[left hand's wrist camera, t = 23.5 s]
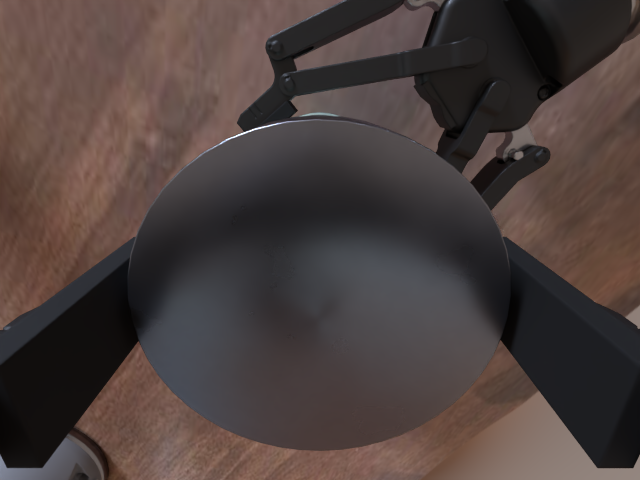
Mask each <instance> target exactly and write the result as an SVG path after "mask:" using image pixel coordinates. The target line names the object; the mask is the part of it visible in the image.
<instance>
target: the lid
mask: <svg viewBox="0 0 640 480" xmlns="http://www.w3.org/2000/svg"><path fill="white" fill-rule="evenodd" d="M510 297H511V272H510V266H509V260H508V254H507V249H506V246H505V243H504V240H503V237H502V234H501V231H500V228H499V226H498V224H497V222H496V220H495V218H494V216H493V214H492V212H491V211H490V209H489V207H488V205H487V204H486V202H485V201H484V200H483V198H482V197H481V196H480V194H479V193H478V192H477V190H476V189H475V188H474V186H473V185H472V184H471V183H470V182H469V181H468V180H467V179H466V178H465V177H464V176H463V175H462V174H461V173H460V172H459V171H458V170H457V169H456V168H455V167H454V166H453V165H451V164H450V163H448V162H447V161H446V160H444V159H443V158H442V157H440V156H439V155H437V154H436V153H435V152H433V151H432V150H430V149H429V148H427V147H425V146H423V145H421V144H419V143H417V142H415V141H413V140H411V139H409V138H407V137H406V136H403V135H401V134H398V133H396V132H394V131H391V130H389V129H386V128H383V127H380V126H377V125H375V124H372V123H369V122H366V121H361V120H356V119H351V118H346V117H340V116H323V115H314V116H301V117H291V118H287V119H282V120H278V121H273V122H269V123H266V124H264V125H261V126H258V127H256V128H253V129H250V130H248V131H245V132H243V133H240V134H238V135H236V136H233V137H231V138H228V139H227V140H225V141H223V142H221V143H219V144H218V145H216V146H214V147H212V148H210V149H209V150H207V151H205V152H203V153H202V154H201V155H199V156H198V157H197V158H195V159H194V160H193V161H191V162H190V163H189V164H188V165H186V166H185V167H184V168H182V169H181V170H180V171H179V172H178V173H177V174H176V175H175V176H174V177H173V178H172V179H171V181H170V182H169V183H168V184H167V185H166V186H165V187H164V188H163V189H162V190H161V192H160V193H159V195H158V196H157V198H156V199H155V200H154V202H153V203H152V205H151V206H150V208H149V209H148V211H147V213H146V215H145V217H144V219H143V221H142V223H141V225H140V227H139V229H138V232H137V235H136V238H135V241H134V245H133V248H132V251H131V256H130V263H129V270H128V302H129V307H130V313H131V319H132V322H133V326H134V329H135V332H136V335H137V338H138V341H139V343H140V345H141V347H142V349H143V351H144V353H145V355H146V357H147V359H148V360H149V362H150V363H151V365H152V366H153V368H154V369H155V371H156V372H157V374H158V375H159V377H160V378H161V379H162V380H163V381H164V383H165V384H166V385H167V386H168V387H169V388H170V389H171V391H172V392H173V393H174V394H175V395H177V396H178V397H179V398H180V399H181V400H182V401H183V402H184V403H185V404H186V405H188V406H189V407H190V408H192V409H193V410H194V411H196V412H197V413H199V414H200V415H201V416H203V417H204V418H206V419H207V420H209V421H211V422H213V423H214V424H216V425H218V426H220V427H221V428H223V429H226V430H228V431H230V432H232V433H235V434H237V435H239V436H242V437H245V438H248V439H251V440H254V441H257V442H260V443H264V444H268V445H272V446H277V447H282V448H289V449H297V450H314V451H326V450H343V449H349V448H356V447H362V446H367V445H371V444H375V443H379V442H382V441H385V440H388V439H391V438H394V437H397V436H400V435H402V434H404V433H406V432H409V431H411V430H413V429H415V428H417V427H419V426H421V425H423V424H424V423H426V422H428V421H429V420H431V419H433V418H434V417H436V416H438V415H439V414H440V413H442V412H443V411H444V410H446V409H447V408H448V407H450V406H451V405H452V404H454V403H455V402H456V401H457V400H458V399H459V398H460V397H461V396H462V395H463V394H464V393H465V392H466V391H467V390H468V389H469V388H470V387H471V386H472V384H473V383H474V382H475V381H476V380H477V378H478V377H479V376H480V375H481V374H482V372H483V371H484V369H485V367H486V366H487V364H488V363H489V361H490V360H491V358H492V356H493V354H494V352H495V350H496V348H497V346H498V344H499V341H500V339H501V337H502V334H503V331H504V327H505V324H506V321H507V317H508V311H509V304H510Z"/></svg>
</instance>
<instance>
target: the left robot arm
mask: <svg viewBox="0 0 640 480" xmlns="http://www.w3.org/2000/svg"><path fill="white" fill-rule="evenodd" d="M135 238H136V237H133V238H132V239H131V240H129V241H128V242H127V243H125V244H124V245H122V246H121V247H120V248H118V249H117V250H116V251H114V252H113V253H112V254H110V255H109V256H107V257H106V258H105V259H103V260H102V261H101V262H99V263H98V264H97V265H95V266H94V267H92V268H91V269H90V270H88V271H87V272H86V273H84V274H83V275H82V276H80V277H79V278H77V279H76V280H75V281H73V282H72V283H71V284H69V285H68V286H67V287H65V288H64V289H62V290H61V291H60V292H58V293H57V294H56V295H54V296H53V297H52V298H50V299H49V300H47V301H46V302H45V303H43V304H42V305H41V306H39V307H37V308H35V309H33V310H31V311H29V312H26V313H24V314H22V315H20V316H19V317H18V318H16V319H15V320H13V321H12V322H11V323H9V324H8V325H6V326H5V327H4V328H3V330H0V480H107V479H108V464H107V461H106V459H105V457H104V455H103V453H102V452H101V450H100V449H99V448H98V446H97V445H96V444H95V443H94V442H93V441H92V440H91V439H90V438H88V437H87V436H86V435H85V434H83V433H82V432H80V431H79V430H77V429H75V428H73V427H74V426H75V424H76V423H77V422H78V420H79V419H80V418H81V416H82V415H83V414H84V412H85V411H86V410H87V408H88V407H89V406H90V404H91V403H92V402H93V400H94V399H95V398H96V396H97V395H98V394H99V393H100V391H101V390H102V389H103V387H104V386H105V385H106V383H107V382H108V381H109V379H110V378H111V377H112V375H113V374H114V373H115V371H116V370H117V369H118V367H119V366H120V365H121V363H122V362H123V361H124V359H125V358H126V357H127V355H128V354H129V353H130V351H131V350H132V349H133V348H134V346H135V345H136V344H137V342H138V338H137V335H136V332H135V329H134V326H133V322H132V319H131V313H130V307H129V302H128V270H129V263H130V256H131V251H132V248H133V245H134V241H135ZM503 240H504V243H505V246H506V249H507V254H508V260H509V266H510V272H511V297H510V304H509V311H508V317H507V321H506V324H505V327H504V331H503V334H502V337H501V339H500V340H501V341H502V342H503V344H504V345H505V346H506V348H507V349H508V350H509V351H510V353H511V354H512V355H513V357H514V358H515V359H516V361H517V362H518V363H519V365H520V366H521V367H522V369H523V370H524V371H525V373H526V374H527V375H528V377H529V378H530V379H531V381H532V382H533V383H534V385H535V386H536V387H537V389H538V390H539V391H540V392H541V394H542V395H543V396H544V398H545V399H546V400H547V402H548V403H549V404H550V406H551V407H552V408H553V410H554V411H555V412H556V414H557V415H558V416H559V418H560V419H561V420H562V422H563V423H564V424H565V426H566V427H567V428H568V430H569V431H570V432H571V434H572V435H573V436H574V438H575V439H576V440H577V442H578V443H579V444H580V445H581V447H582V448H583V449H584V451H585V452H586V453H587V455H588V456H589V457H590V459H591V460H592V461H593V463H594V464H595V465H596V467H597V468H633V467H634V465H635V463H636V461H637V459H638V457H639V455H640V329H638V328H637V326H636V325H635V324H633V323H632V322H630V321H629V320H628V319H626V318H625V317H623V316H622V315H621V314H619V313H617V312H615V311H613V310H610V309H608V308H606V307H604V306H602V305H600V304H597V303H595V302H594V301H593V300H591V299H590V298H588V297H587V296H586V295H584V294H583V293H582V292H580V291H579V290H578V289H576V288H575V287H573V286H572V285H571V284H569V283H568V282H567V281H565V280H564V279H563V278H561V277H560V276H558V275H557V274H556V273H554V272H553V271H552V270H550V269H549V268H548V267H546V266H545V265H543V264H542V263H541V262H539V261H538V260H537V259H535V258H534V257H533V256H531V255H530V254H528V253H527V252H526V251H524V250H523V249H522V248H520V247H519V246H518V245H516V244H515V243H513V242H512V241H511V240H509V239H508V238H507V237H503Z"/></svg>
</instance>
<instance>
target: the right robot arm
mask: <svg viewBox="0 0 640 480" xmlns="http://www.w3.org/2000/svg"><path fill="white" fill-rule="evenodd" d="M402 4H404V6H405V7H406V8H407V9H408V10H411V11H414V10H417V9H419V8H421V7H423V6H429V7H431V8H432V9H433V10H434V14H433V16H432V19H431V22H430V25H429V28H428V31H427V34H426V37H425V40H424V43H423V46H422V48H419V49H414V50H408V51H404V52H400V53H396V54H390V55H384V56H379V57H373V58H367V59H362V60H356V61H350V62H345V63H339V64H334V65H328V66H322V67H317V68H311V69H305V70H300V71H297V68H296V65H295V62H294V59H296V58H298V57H300V56H302V55H305V54H307V53H309V52H311V51H313V50H315V49H317V48H319V47H321V46H323V45H326V44H328V43H330V42H332V41H334V40H336V39H338V38H340V37H342V36H344V35H347V34H349V33H351V32H353V31H355V30H357V29H359V28H361V27H363V26H366V25H368V24H370V23H372V22H374V21H376V20H378V19H380V18H382V17H384V16H386V15H388V14H390V13H392V12H393V11H395V10H396V9H397V8H399V7H400V6H401V5H402ZM639 34H640V0H344V1H342V2H340V3H338V4H336V5H334V6H332V7H330V8H328V9H326V10H324V11H322V12H319V13H317V14H315V15H313V16H311V17H309V18H307V19H305V20H303V21H301V22H299V23H297V24H295V25H293V26H291V27H289V28H287V29H285V30H283V31H281V32H279V33H277V34H275V35H273V36H271V37H270V38H269V39H268V40H267V42H266V52H267V54H268V55H269V58H270V61H271V64H272V67H273V70H274V73H275V79H274V83H273V85H272V86H271V87H270V88H269V89H268V90H267V91H266V92H265V93H264V94H263V95H261V96H260V97H259V98H258V99H257V100H256V101H255V102H254V103H253V104H252V105H251V106H249V107H248V108H247V109H246V110H245V111H244V112H243V113H242V114H241V115H240V117H239V119H238V122H237V124H238V125H239V126H240V127H241V128H242V130H243V131H244V132H245V131H248V130H250V129H253V128H256V127H258V126H261V125H264V124H266V123H269V122H273V121H278V120H282V119H287V118H290V117H291V116H292V115H293V114H295V113H296V112H297V111H298V110H297V109H296V108H295V106H294V105H293V104H292V102H291V100H292V99H293V98H294V97H295V96H300V95H305V94H311V93H317V92H323V91H328V90H334V89H340V88H346V87H352V86H357V85H363V84H369V83H375V82H381V81H386V80H392V79H399V78H405V77H411V76H414V79H415V84H416V85H414V88H415V89H416V91H417V92H418V94H419V95H420V97H421V98H423V99H424V100H425V101H426V102H427V103H428V104H430V106H431V110H432V113H433V116H434V118H435V120H436V121H437V123H438V125H439V126H440V127H442V128H445V130H444V132H443V134H442V136H441V138H440V140H439V143H438V149H437V152H436V154H437V155H439V156H440V157H442V158H443V159H444V160H446V161H447V162H448V163H450V164H451V165H453V166H454V167H455V168H456V169H457V170H458V171H459V172H460V173H462V172H463V170H464V168H465V166H466V164H467V163H468V161H469V160H471V159H472V158H473V157H474V156H475V155H476V153H477V151H478V150H479V148H480V146H481V144H482V142H483V140H484V138H485V137H486V135H487V133H497V132H505V140H504V141H503V143H502V144H501V145H500V146H499V147H497V149H496V157H495V158H493V159H492V160H491V161H490V162H488V163H487V164H486V165H485V166H484V167H483V168H482V169H481V171H480V172H479V173H478V174H477V175H476V176H475V177H474V179H473V180H472V181H471V182H470V183H471V184H472V185H473V186H474V188H475V189H476V190H477V192H478V193H479V194H480V196H481V197H482V198H483V200H484V201H485V202H486V204H487V205H488V207H489V209H490V211H491V210H492V209H493V208H494V207H495V206H496V205H497V203H498V202H499V201H500V200H501V199H502V198H503V197H504V196H505V195H506V194H507V193H508V191H509V190H510V189H511V188H512V187H513V186H514V185H515V184H516V183H517V182H518V181H519V180H521V179H522V178H524V177H526V176H527V175H529V174H530V173H532V172H534V171H535V170H537V169H539V168H540V167H542V166H544V165H545V164H546V163H547V162H548V161H549V159H550V151H549V150H548V148H545V147H542V146H538V145H537V143H536V141H535V139H534V137H533V135H532V133H531V130H530V128H529V126H528V124H527V123H528V122H529V120H530V119H531V117H532V116H533V114H534V112H535V111H536V109H537V108H538V107H539V106H540V105H541V104H542V103H543V102H544V101H546V100H547V99H549V98H550V97H552V96H553V95H555V94H557V93H558V92H560V91H561V90H562V89H564V88H565V87H566V86H568V85H569V84H571V83H572V82H573V81H575V80H576V79H577V78H579V77H580V76H582V75H583V74H584V73H586V72H587V71H588V70H590V69H591V68H593V67H594V66H595V65H597V64H598V63H599V62H601V61H602V60H604V59H605V58H606V57H608V56H609V55H610V54H612V53H613V52H614V51H615V50H616V49H617V48H618V47H619V46H620V45H621V44H623V43H625V42H627V41H629V40H631V39H633V38H635V37H636V36H637V35H639Z"/></svg>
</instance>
